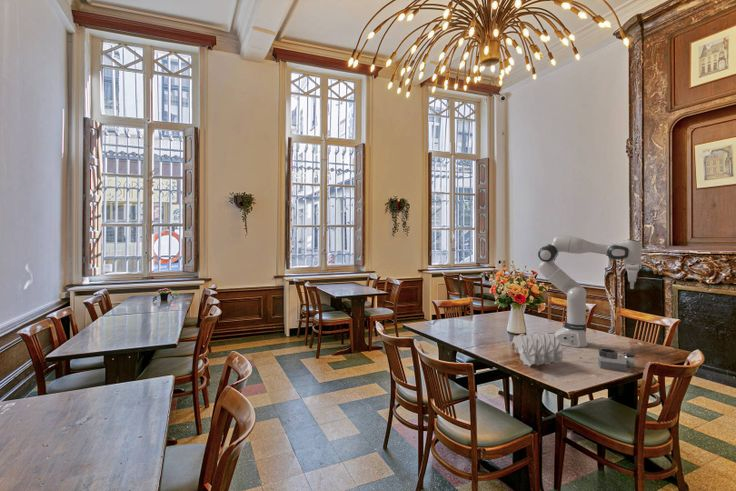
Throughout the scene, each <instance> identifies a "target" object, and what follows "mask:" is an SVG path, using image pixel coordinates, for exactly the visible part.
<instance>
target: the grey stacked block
mask: <svg viewBox="0 0 736 491" xmlns="http://www.w3.org/2000/svg"><path fill="white" fill-rule="evenodd" d="M597 358H598V362H597V363H598V366H599V368H600V369H604V370H611V371H612V370H613V371H620V372H627V367H626V364H627V361H626V359H625V357H624V355H623V354H620V353H619V354H618V351H617V350H615V349H612V348H605V347H604V348H598V357H597Z"/></svg>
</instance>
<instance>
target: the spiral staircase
mask: <svg viewBox="0 0 736 491" xmlns="http://www.w3.org/2000/svg"><path fill="white" fill-rule="evenodd" d="M521 334H522V333H520V334H519V335H514V336H513V338H512V340H511V342H514V343H513V345H514V346H515V345H516V346H517V347H518V352H519V354H518V355H519V359H520V360H521V362H523V365H527V366H528V367H530V368H531V367H532V365H536V366H538V367H539V366H540V365H544V364H546V363H547V364H548V365H550V364H551V363H555V364H556V365H557V364H559V362H562V361H563V359H564V353H563V352H564V348H563V345H561V343H560V341H559V340H558V339H557V338H556V337H555V335H554V334H552V333H549V331H547V332H545V333H539V332H536V333H535V334H534V335H533V334H532V333H530V334H524V336H522V335H521ZM516 336H517V337H516Z"/></svg>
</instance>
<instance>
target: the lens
mask: <svg viewBox="0 0 736 491" xmlns="http://www.w3.org/2000/svg"><path fill="white" fill-rule="evenodd" d="M622 355H623V356H624V357H625V359H626V361H627V364H626V368H629V369H633V368H635V362H636V360H635V357H636V354H635V353H632V352H623V354H622Z"/></svg>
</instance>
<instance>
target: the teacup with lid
mask: <svg viewBox="0 0 736 491" xmlns="http://www.w3.org/2000/svg"><path fill="white" fill-rule="evenodd" d="M520 334H521V335H522V336H524V335H525V334H524V333H520ZM515 336H516V337H517V336H518V335H515ZM510 347H511V348H512V349H513V350H514V352H515V354H518V355H520V354H519V352H518V347H517V346H516V345H515V344H514V342H513V341H511V343H510Z"/></svg>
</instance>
